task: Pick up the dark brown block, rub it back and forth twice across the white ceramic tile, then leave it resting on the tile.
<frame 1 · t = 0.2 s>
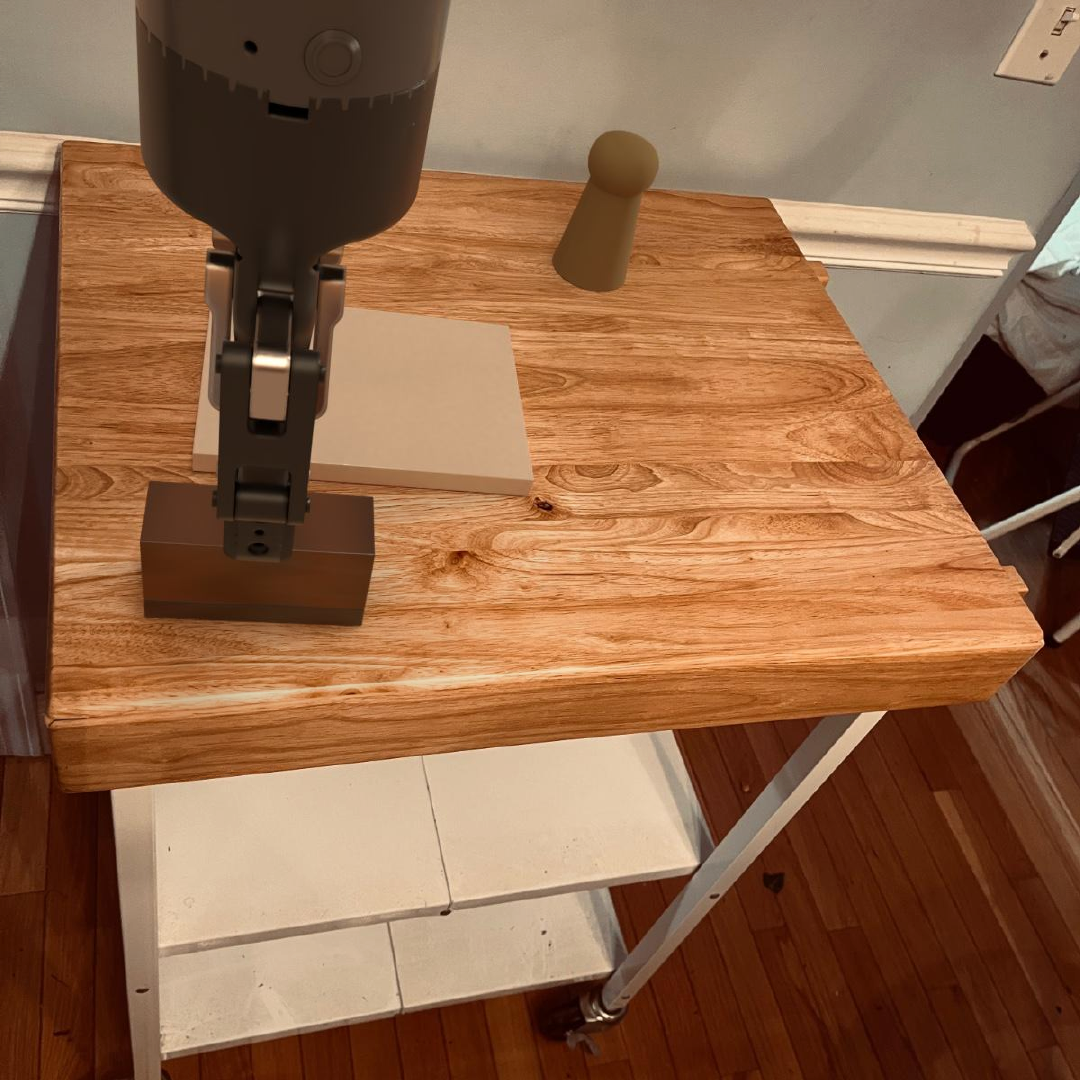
hand: (263, 462, 38), 18 cm above the kitchen cart, tool pointing down, fingers open, 8 cm apart
dark brown block: (257, 591, 57), on the kitchen cart
olive brown pawn: (588, 269, 85), on the kitchen cart
tile: (365, 399, 69), on the kitchen cart
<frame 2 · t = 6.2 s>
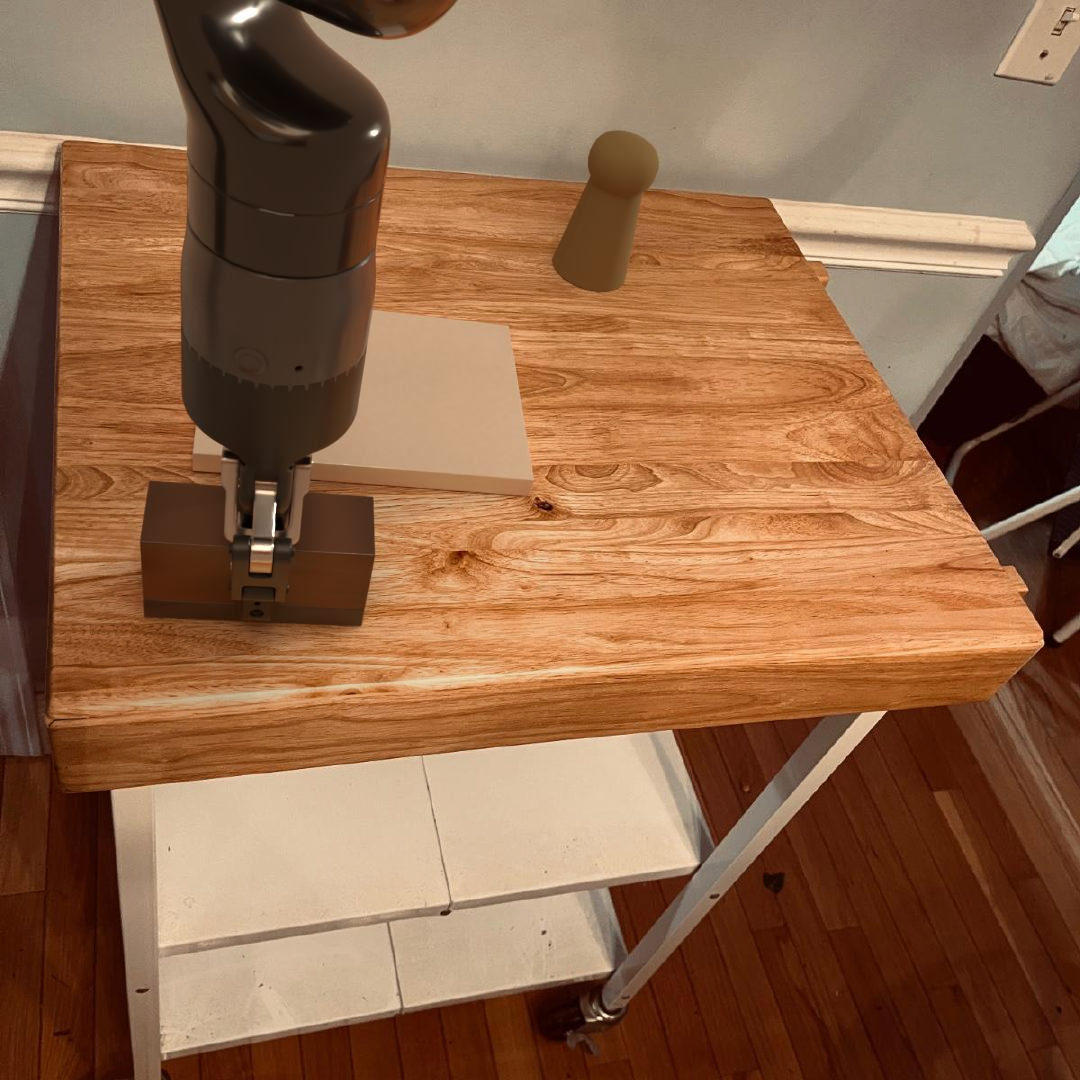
hand: (258, 576, 56), 1 cm above the kitchen cart, tool pointing down, fingers closed on dark brown block, 4 cm apart
dark brown block: (257, 592, 57), on the kitchen cart, touching gripper
everything else where it was.
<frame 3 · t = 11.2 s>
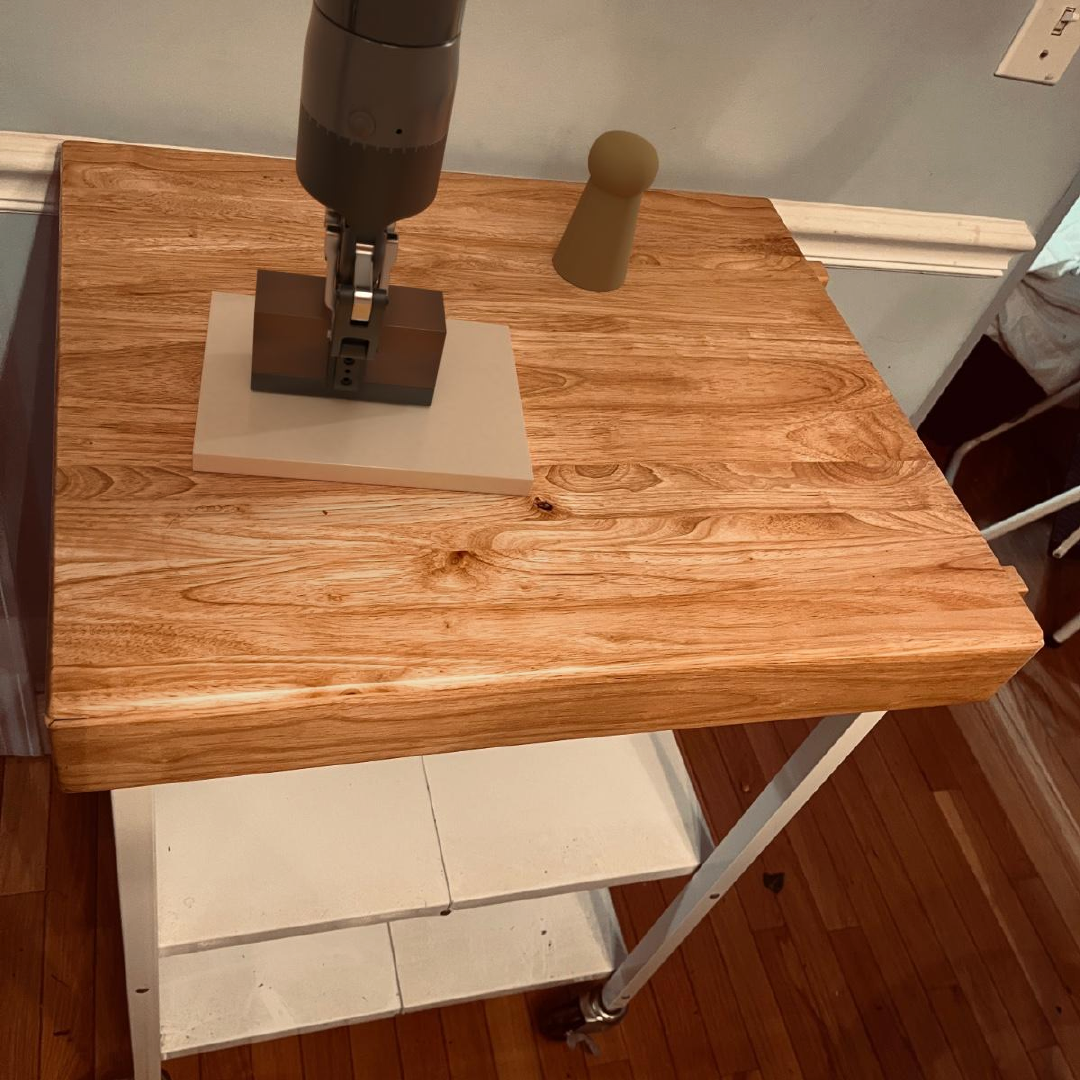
hand: (343, 361, 66), 3 cm above the kitchen cart, tool pointing down, fingers closed on dark brown block, 4 cm apart
dark brown block: (342, 377, 67), point 2 cm above the kitchen cart, touching gripper
everything else where it was.
when the fingers open (2 cm above the kitchen cart, at t = 16.6 s): dark brown block stays where it is, resting on tile.
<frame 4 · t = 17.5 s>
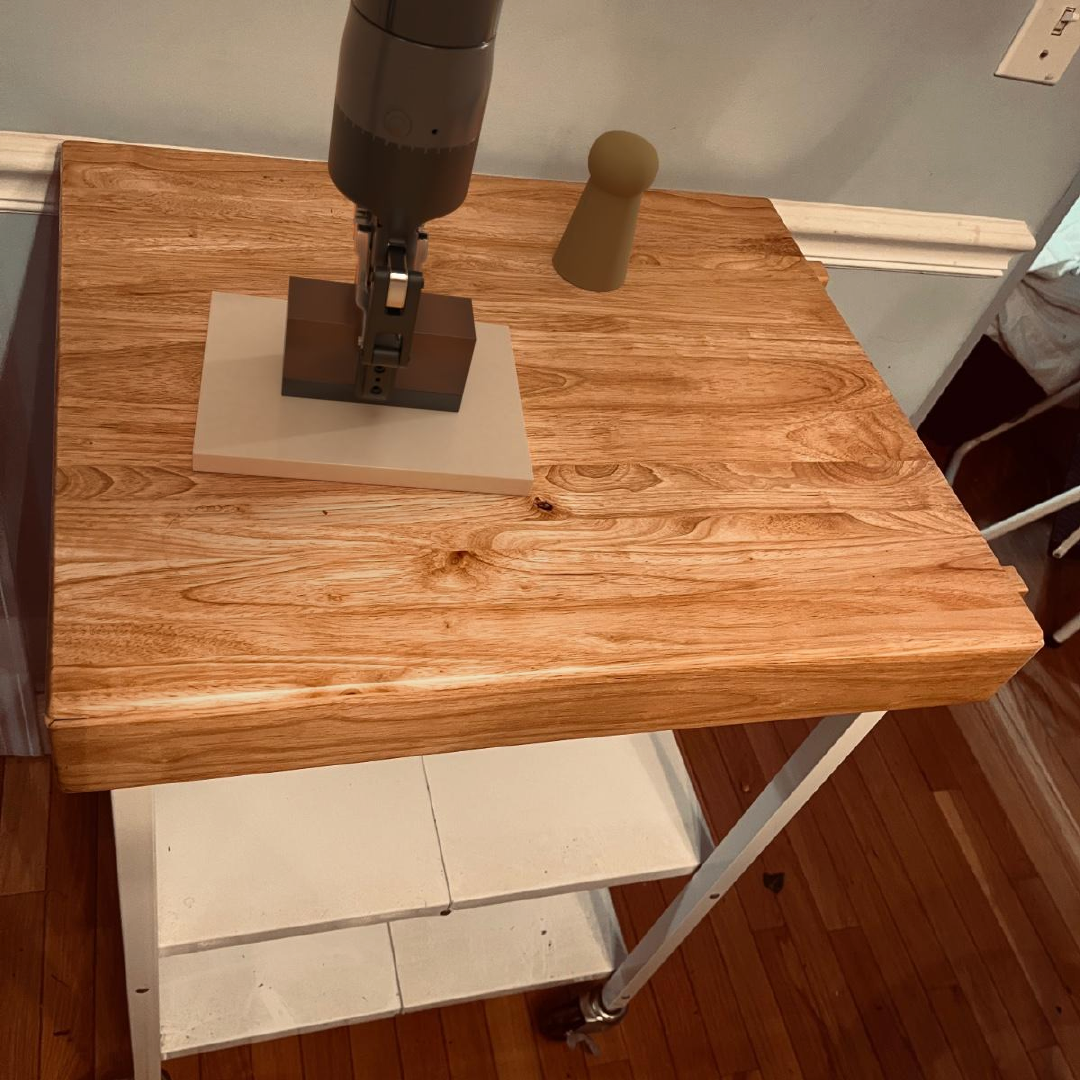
hand: (370, 349, 66), 4 cm above the kitchen cart, tool pointing down, fingers open, 8 cm apart
dark brown block: (371, 383, 68), point 1 cm above the kitchen cart, touching tile
everything else where it was.
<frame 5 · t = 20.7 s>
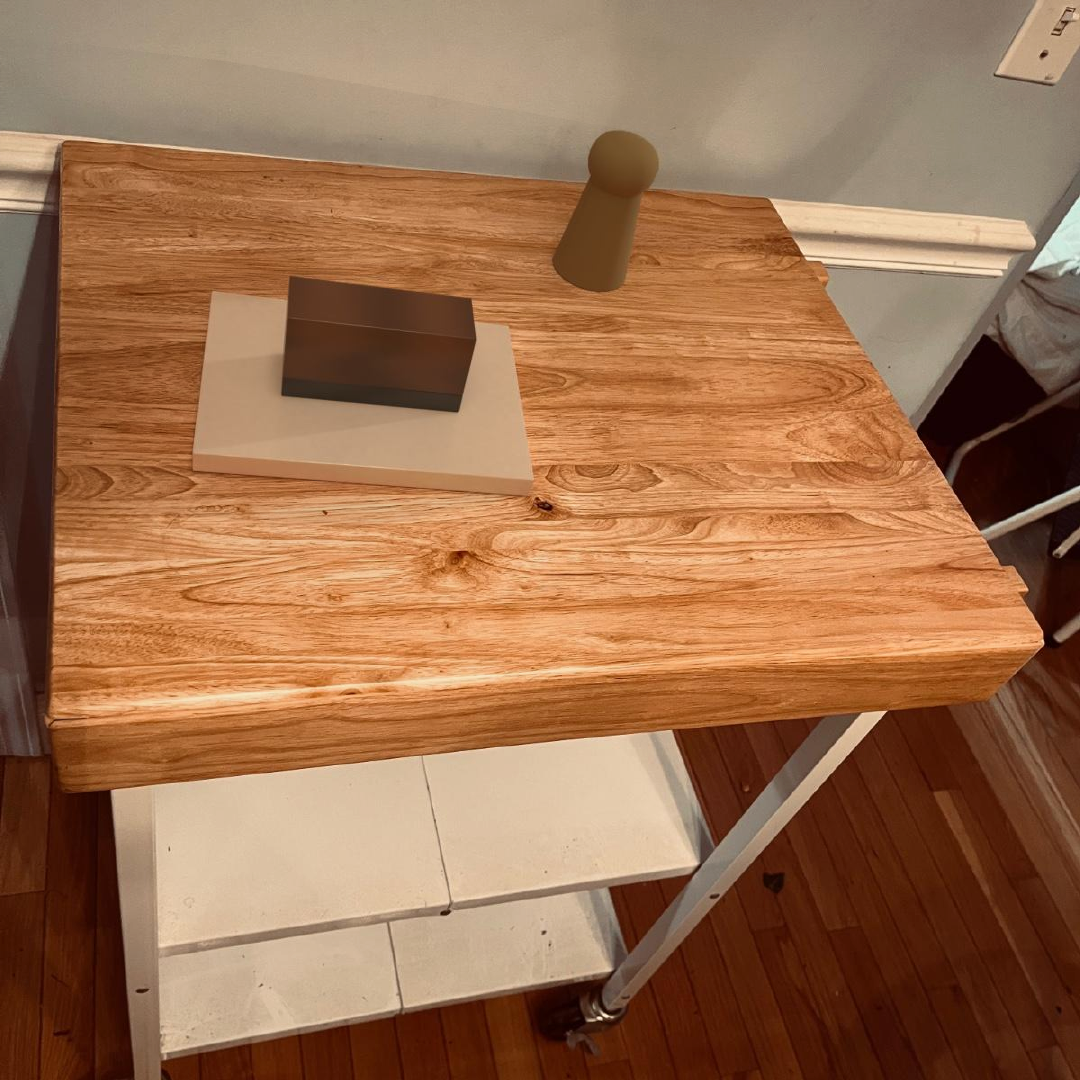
nothing on the kitchen cart moved.
at the end: dark brown block inside the target area on the tile (0.2 cm from its centre), point 1.5 cm above the tile's base; dark brown block tilted 0°; the gripper is holding nothing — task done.
